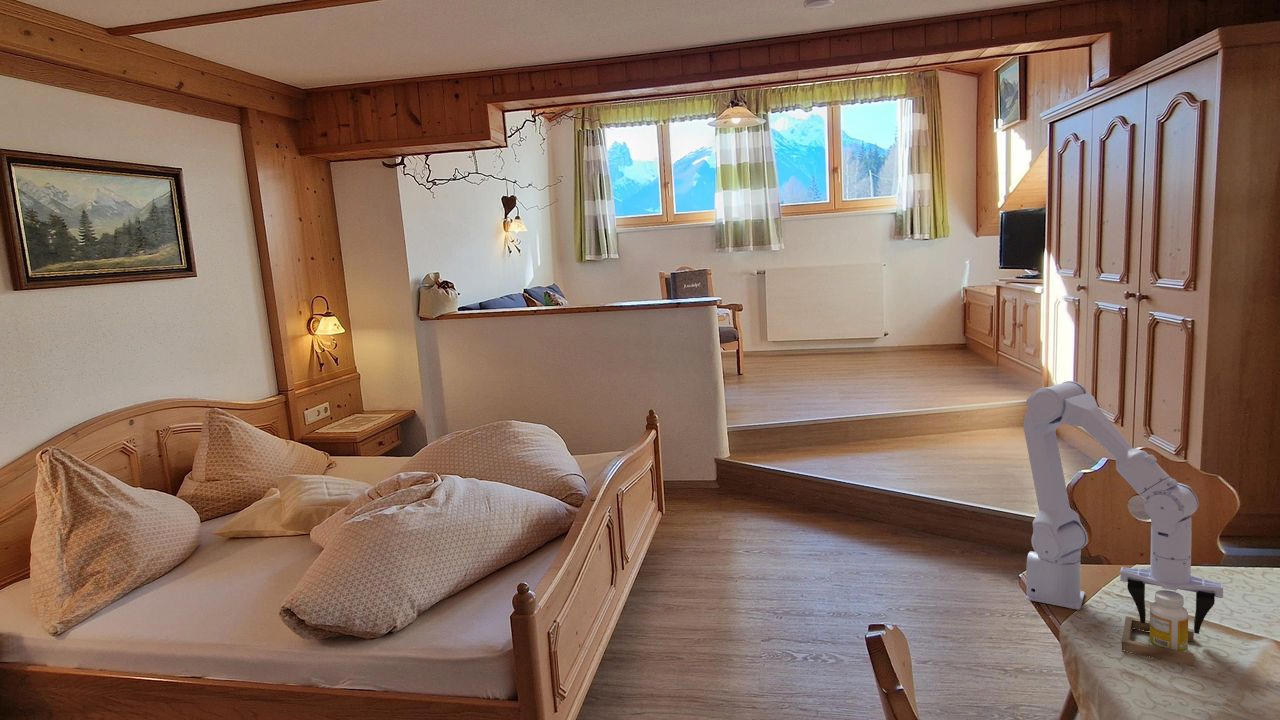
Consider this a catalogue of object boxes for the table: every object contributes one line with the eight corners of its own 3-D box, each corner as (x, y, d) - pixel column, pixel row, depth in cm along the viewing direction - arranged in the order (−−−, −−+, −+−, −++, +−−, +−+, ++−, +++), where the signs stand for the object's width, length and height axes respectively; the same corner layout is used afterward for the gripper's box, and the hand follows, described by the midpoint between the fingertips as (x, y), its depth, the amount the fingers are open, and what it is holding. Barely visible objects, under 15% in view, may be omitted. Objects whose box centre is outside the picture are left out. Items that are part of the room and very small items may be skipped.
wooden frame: (1121, 650, 125) (1121, 641, 125) (1125, 625, 133) (1125, 616, 133) (1193, 666, 119) (1193, 656, 119) (1193, 638, 127) (1193, 629, 127)
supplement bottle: (1180, 640, 127) (1181, 589, 126) (1192, 657, 122) (1194, 603, 121) (1145, 637, 129) (1145, 586, 127) (1155, 653, 124) (1156, 601, 122)
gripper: (1119, 554, 127) (1118, 625, 129) (1224, 570, 118) (1222, 646, 120) (1122, 540, 133) (1121, 609, 134) (1223, 554, 124) (1220, 627, 126)
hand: (1169, 625), depth 128 cm, fingers open, 7 cm apart
